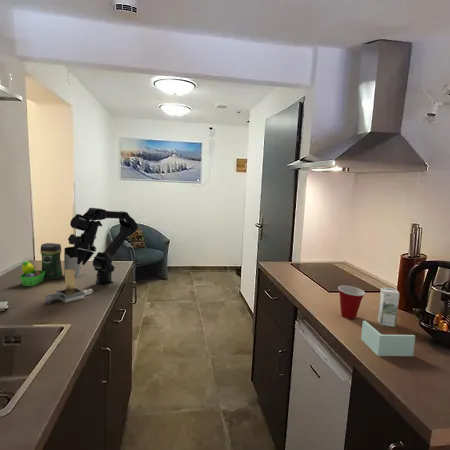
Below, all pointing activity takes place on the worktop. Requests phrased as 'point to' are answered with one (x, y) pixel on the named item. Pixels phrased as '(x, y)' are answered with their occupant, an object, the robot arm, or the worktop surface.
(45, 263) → the coffee jar
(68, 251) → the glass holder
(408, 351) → the l-shaped corner panel
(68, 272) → the brass pin
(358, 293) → the plastic cup
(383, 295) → the syrup box
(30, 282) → the fruit basket
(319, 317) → the worktop surface
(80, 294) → the ball-tipped frame bar
